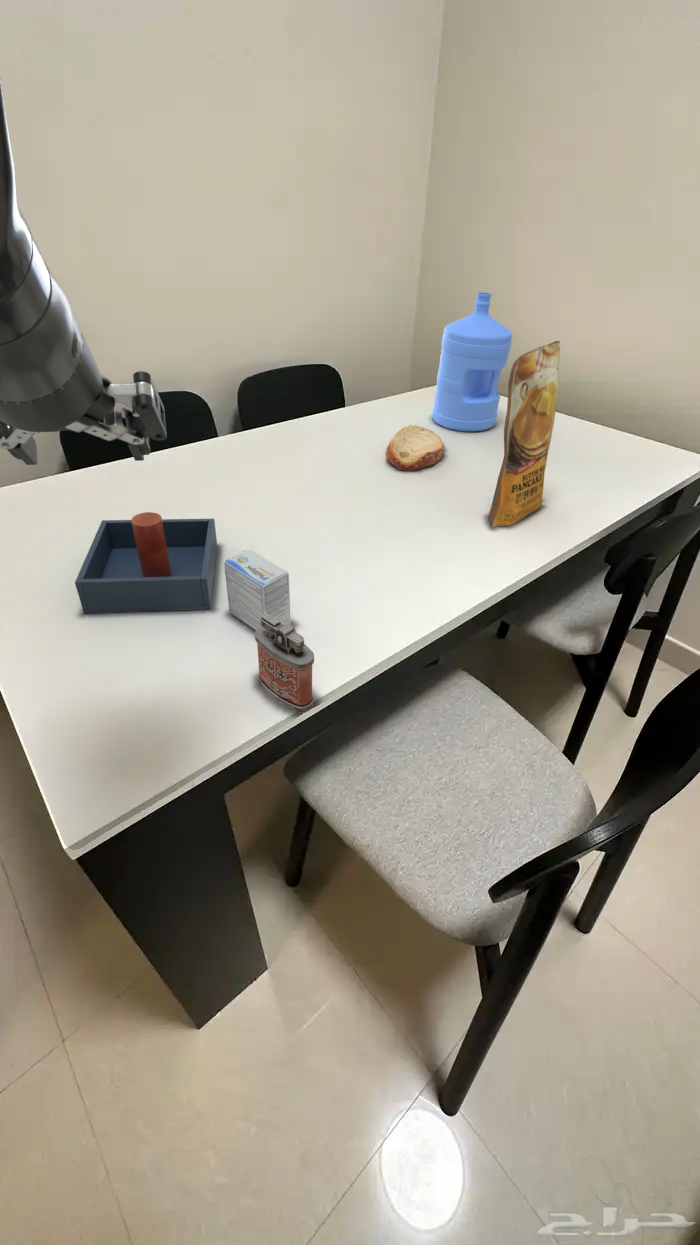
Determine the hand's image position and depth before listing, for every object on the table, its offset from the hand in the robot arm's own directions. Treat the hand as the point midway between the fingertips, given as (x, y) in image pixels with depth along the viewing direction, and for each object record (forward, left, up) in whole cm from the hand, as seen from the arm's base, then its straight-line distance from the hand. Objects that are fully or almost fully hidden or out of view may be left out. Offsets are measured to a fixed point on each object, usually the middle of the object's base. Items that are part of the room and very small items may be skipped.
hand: (86, 452), depth 49 cm
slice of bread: (+46, +71, -29) cm, 89 cm away
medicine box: (+13, +13, -29) cm, 34 cm away
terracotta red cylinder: (-2, +24, -28) cm, 37 cm away
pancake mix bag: (+59, +42, -29) cm, 78 cm away
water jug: (+63, +90, -29) cm, 113 cm away
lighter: (+16, -1, -29) cm, 33 cm away
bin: (-2, +24, -29) cm, 37 cm away
